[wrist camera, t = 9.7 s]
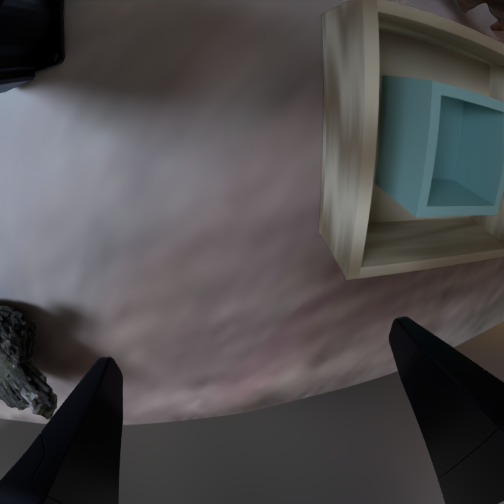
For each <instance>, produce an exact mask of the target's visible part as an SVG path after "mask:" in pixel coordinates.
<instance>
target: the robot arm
mask: <svg viewBox="0 0 504 504" xmlns="http://www.w3.org/2000/svg"><path fill="white" fill-rule="evenodd" d="M63 10H64V0H0V93H3V92H6V91H8V90H11V89H13V88H15V87H18V86H20V85H22V84H25V83H27V82H30V81H32V80H33V79H34V78H35V76H36V75H35V73H38V72H40V71H43V70H45V69H48V68H51V67H54V66H57V65H59V64H61V63H62V62H63V60H64V57H65V51H64V20H63ZM56 54H58V59H57V60H56V61H55V60H54V57H55V55H56ZM389 343H390V346H391V349H392V352H393V356H394V359H395V362H396V365H397V369H398V372H399V376H400V379H401V381H402V384H403V387H404V389H405V391H406V394H407V396H408V399H409V401H410V403H411V406H412V409H413V411H414V414H415V416H416V419H417V422H418V424H419V427H420V429H421V432H422V435H423V438H424V440H425V443H426V446H427V449H428V452H429V454H430V457H431V460H432V463H433V466H434V469H435V472H436V475H437V478H438V482H439V485H440V488H441V491H442V494H443V498H444V501H445V504H504V382H502V381H501V380H499V379H498V378H496V377H495V376H493V375H492V374H491V373H489V372H488V371H486V370H484V369H483V368H482V367H480V366H479V365H478V364H476V363H475V362H473V361H472V360H470V359H469V358H467V357H466V356H465V355H463V354H461V353H460V352H459V351H457V350H456V349H454V348H453V347H451V346H450V345H448V344H447V343H446V342H444V341H443V340H441V339H440V338H438V337H437V336H435V335H434V334H432V333H431V332H429V331H428V330H426V329H425V328H423V327H422V326H420V325H419V324H417V323H416V322H414V321H413V320H411V319H410V318H408V317H406V316H404V317H399V318H396V319H395V320H394V321H393V324H392V327H391V331H390V334H389ZM122 425H123V376H122V373H121V371H120V369H119V367H118V366H117V364H116V362H115V361H114V359H113V358H112V357H101V358H99V359H98V360H97V361H96V363H95V364H94V365H93V366H92V368H91V369H90V370H89V371H88V372H87V374H86V375H85V376H84V377H83V379H82V380H81V381H80V382H79V384H78V385H77V386H76V387H75V389H74V390H73V391H72V392H71V394H70V395H69V396H68V398H67V399H66V400H65V401H64V403H63V404H62V405H61V406H60V408H59V409H58V410H57V412H56V413H55V414H54V415H53V417H52V418H51V419H50V421H49V422H48V423H47V425H46V426H45V427H44V429H43V430H42V432H41V433H40V434H39V435H38V436H37V438H36V439H35V441H34V442H33V443H32V444H31V446H30V447H29V448H28V450H27V451H26V452H25V453H24V454H23V455H22V457H21V458H20V459H19V460H18V461H17V462H16V463H15V465H14V466H13V467H12V468H11V469H10V470H9V471H8V472H7V473H6V475H5V476H4V477H3V478H2V479H1V480H0V504H118V503H119V501H118V499H119V497H118V496H119V469H120V450H121V436H122Z"/></svg>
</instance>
